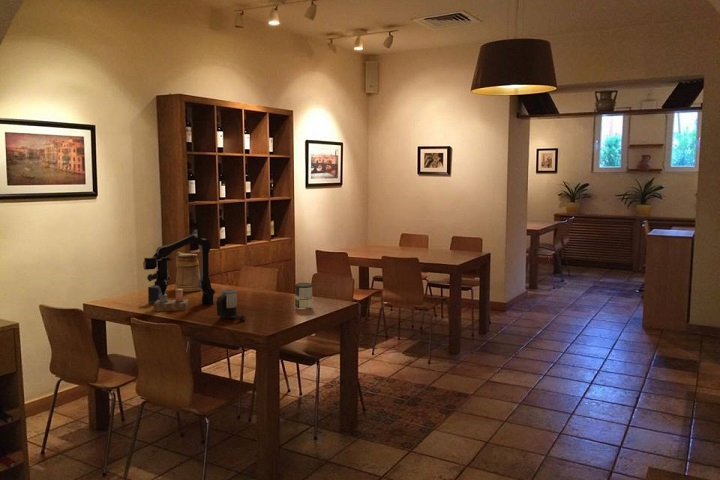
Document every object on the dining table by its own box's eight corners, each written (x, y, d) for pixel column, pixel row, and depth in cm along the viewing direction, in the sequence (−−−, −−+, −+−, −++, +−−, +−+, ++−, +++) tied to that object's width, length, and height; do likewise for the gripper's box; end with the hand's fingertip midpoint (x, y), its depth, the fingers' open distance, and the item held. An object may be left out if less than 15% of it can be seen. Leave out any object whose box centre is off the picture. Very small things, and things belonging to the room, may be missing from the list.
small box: (157, 304, 353) (157, 287, 351) (147, 304, 354) (147, 287, 353) (166, 301, 363) (166, 284, 362) (157, 300, 364) (156, 283, 363)
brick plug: (183, 302, 346) (183, 288, 345) (182, 303, 342) (182, 290, 341) (175, 302, 346) (175, 288, 345) (174, 303, 341) (174, 290, 340)
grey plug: (168, 307, 345) (167, 293, 344) (166, 309, 341) (166, 295, 340) (160, 307, 345) (159, 294, 344) (158, 309, 340) (158, 295, 339)
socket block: (188, 306, 350) (188, 299, 349) (186, 310, 340) (186, 303, 339) (157, 306, 347) (156, 300, 346) (153, 310, 337) (153, 303, 337)
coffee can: (291, 308, 348) (291, 285, 346) (300, 305, 357) (300, 282, 355) (306, 310, 343) (306, 286, 342) (315, 306, 352) (315, 283, 351)
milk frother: (223, 315, 329) (223, 289, 328) (250, 316, 328) (250, 290, 326) (214, 321, 315) (214, 294, 314) (243, 322, 314) (242, 295, 312)
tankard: (186, 293, 385) (186, 256, 383) (164, 289, 399) (164, 252, 396) (208, 289, 400) (208, 253, 397) (186, 285, 414) (186, 250, 411)
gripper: (151, 266, 348) (152, 291, 350) (144, 271, 330) (145, 298, 331) (170, 265, 350) (171, 291, 351) (165, 271, 331) (165, 298, 333)
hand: (163, 294), depth 342 cm, fingers closed, pressing on grey plug
